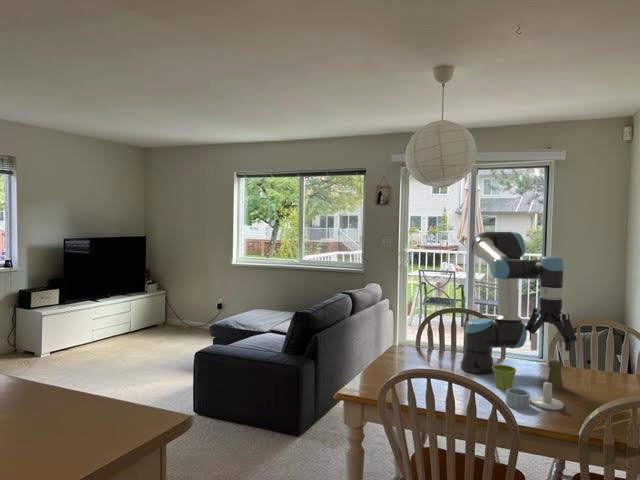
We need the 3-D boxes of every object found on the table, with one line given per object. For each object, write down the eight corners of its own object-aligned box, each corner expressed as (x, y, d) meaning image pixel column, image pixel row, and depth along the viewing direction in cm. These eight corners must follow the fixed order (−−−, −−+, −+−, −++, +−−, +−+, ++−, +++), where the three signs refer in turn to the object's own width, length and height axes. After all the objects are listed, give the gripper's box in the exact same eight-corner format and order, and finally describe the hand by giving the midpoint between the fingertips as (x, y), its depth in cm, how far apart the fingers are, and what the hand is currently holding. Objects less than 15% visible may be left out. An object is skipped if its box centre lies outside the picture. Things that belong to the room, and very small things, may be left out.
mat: (522, 402, 181) (522, 401, 181) (544, 397, 186) (544, 396, 186) (549, 414, 170) (550, 412, 170) (572, 408, 175) (572, 407, 175)
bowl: (501, 404, 179) (501, 390, 179) (516, 401, 182) (517, 387, 182) (518, 412, 172) (518, 397, 172) (534, 408, 175) (534, 394, 175)
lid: (524, 401, 181) (525, 380, 180) (544, 397, 186) (545, 377, 185) (549, 412, 171) (550, 390, 171) (570, 407, 176) (570, 386, 175)
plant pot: (514, 394, 189) (515, 373, 189) (489, 390, 194) (490, 369, 194) (517, 387, 198) (517, 367, 197) (493, 383, 202) (494, 363, 202)
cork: (564, 389, 195) (565, 363, 195) (549, 388, 197) (550, 362, 196) (560, 385, 201) (561, 359, 201) (545, 383, 203) (546, 358, 202)
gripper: (516, 293, 186) (515, 347, 187) (574, 304, 164) (572, 364, 164) (530, 293, 189) (528, 345, 190) (589, 302, 167) (587, 362, 168)
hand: (549, 354), depth 177 cm, fingers open, 13 cm apart
